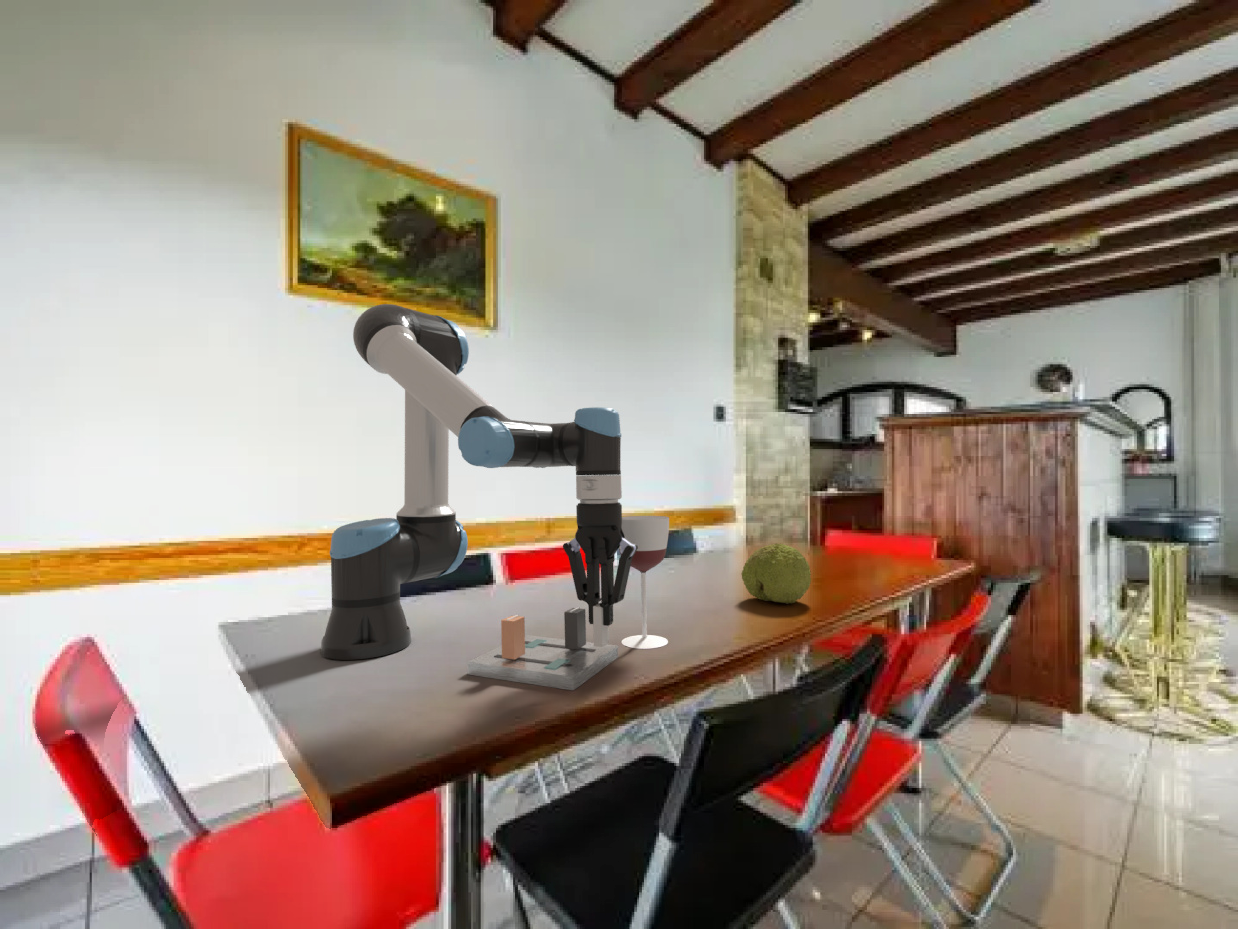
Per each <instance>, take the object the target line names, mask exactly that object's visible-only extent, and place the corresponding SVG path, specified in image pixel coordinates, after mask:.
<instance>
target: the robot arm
mask: <svg viewBox="0 0 1238 929" xmlns="http://www.w3.org/2000/svg"><path fill="white" fill-rule="evenodd" d="M352 332H353V333H352V335H353V343H354V344H353V345H354V347H355V349H356V352H357V353H358V354H359V356H360V357H361V358H362V360H363V361H364V362H365V363H366V364H367V365H369V367H370V368H372V369H373V371H376V372H378V373H380V374H384V375H388V376H389V377H390V378H391V379H392V380H394V381H395V382H396V383H397V384H398V385H399V386H401V388H403V390H404V503H403V504H404V505H403V506H402V507H401V508H400V509H399V510H398V511H397V512H396V518H393V517H382V518H374V519H365V520H359V521H355V522H350V523H346V524H344V525H341V526H339V527H337V528H336V529H335V530H334V531H333V532H332V535H331V540H330V549H329V556H330V570H331V572H330V576H331V585H330V586H331V612H330V614H329V617H328V620H327V625H326V628H325V632H324V636H323V637H322V638H321V650H320V651H321V655H322V657H324V658H327V659H331V660H339V661H353V660H354V661H355V660H365V659H371V658H378V657H382V656H387V655H390V654H393V653H397V652H399V651H401V650H404V649H406V648H407V647H409V646H410V645H411V642H412V640H411V639H412V638H411V629H410V627H409V625H408V624H407V619H406V616H405V613H404V610H403V606H402V604H401V584H407V583H411V582H417V581H420V580H427V579H437V578H440V577H442V576H444V575H448V574H450V573H452V572H455V571H456V570H457V569H458V567H459V566H461V564H462V563H463V561H464V560H465V557H466V555H467V552H468V551H467V550H468V543H469V542H468V541H469V540H468V535H467V531H466V530H464V526H463V524H462V523H461V522H460V521H458V520H457V516H456V515H457V514H456V511H455V510H454V509H453V508H452V506H450V505H449V504H450V503H449V449H450V448H449V446H450V445H449V438H450V437H449V436H450V435H449V434H450V433H449V431H451V432H452V433H453V435H455V436H456V437H457V444H458V445H457V446H458V449H459V451H460V452H461V457H462V458H463V460H465V462H467V463H468V464H470V465H472V466H474V467H482V468H487V469H495V468H516V467H517V468H518V467H519V468H521V467H522V468H524V467H525V468H534V469H535V468H538V469H539V468H542V469H545V468H553V467H554V468H557V467H558V468H559V467H575V480H576V481H575V484H576V487H575V490H576V491H575V492H576V494H575V495H576V499H577V500H578V501H579V503H577V504H576V511H575V512H576V525H577V529H576V531H575V535H574V538H572V540H570V541H568V542H565V543H563V544H562V549H563V550H564V553H565V554H566V555H567V557H568V561H569V566H570V570H571V574H572V579H573V580H572V581H573V583H574V584H573V585H574V590H575V592H576V597H577V600H579V601H582V602H585V603H586V604H587V606H588V607H587V608H588V622H589V625H592V626H593V629H592V630H593V632H592V633H593V643H594V646H596V647H603V646H604V645H606V644H609V643H610V639H609V638H610V636H609V634H610V630H609V629H610V628H609V627H610V626H611V625H612V624H613V622H614V605H615V604H618V603H620V602H621V601H624V598H625V594H626V589H627V584H628V579H629V576H630V575H629V574H630V570H631V561H632V557H633V556H634V554H635V552H636V551H637V549H638V546H637V545H636V544H631V543H630V542H628V541H627V540H626V539H624V538H625V536H624V533H623V531H622V517H623V511H622V509H623V508H622V507H623V506H622V503H621V502H619V500H620V499H622V498H623V497H622V496H623V495H622V492H623V491H622V470H621V442H622V440H621V439H622V433H621V424H620V422H621V420H620V414H619V411H617V410H616V409H614V408H611V407H599V406H597V407H593V406H592V407H584V408H579V409H577V410H575V413H574V419H573V421H571V422H560V423H544V422H536V421H535V422H534V421H526V420H525V421H524V420H515V419H513V420H512V419H510V418H509V417H507V416H506V415H504V414H503V413H502V412H500V411H499V410H498V409H496V408H495V407H494V406H493V405H492V404H490V402H489V401H487V400H486V399H485V398H484V397H483V396H481V395H480V394H479V393H477V392H476V391H475V390H474V389H473V388H471V387H470V386H468V384H467V383H465V382H464V381H463V380H462V379H461V378H460V377H458V375H459V374H460V373H462V371H464V369H465V365H466V364H467V363H468V360H469V355H470V354H469V353H470V350H469V349H470V348H469V343H468V340H467V336H466V334H465V332H464V331H463V330H462V328H460V327H459V325H458V324H457V323H456V322H454V321H452V320H448V319H447V318H444V317H442V316H439V315H433V314H430V313H429V314H428V313H425V312H421V311H419V310H414V309H411V308H407V307H403V306H401V305H396V304H391V303H389V304H388V303H383V304H378V305H374V306H371V307H370V308H368V309H366V310H365V311H364V312H363V313H361V314H360V316H359V317H358V318H357V320H356V321H355V324H354V327H353V331H352ZM620 546H621V549H620V550H619V547H620ZM581 550H582V551H583V552H584V561H583V557H582V556H583V555H582V553H581ZM618 550H619V553H620V552H621V553H622V554H620V556H619V561H618V563H617V564H618V566H617V570H616V575H615V576H614V563H615V559H616V558H615V555H616V553H617V551H618ZM584 562H585V565H586V567H585V565H584ZM585 568H586V569H585Z"/></svg>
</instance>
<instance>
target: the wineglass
mask: <svg viewBox="0 0 1238 929" xmlns="http://www.w3.org/2000/svg"><path fill="white" fill-rule="evenodd" d="M669 530H670V517H669V516H664V515H627V516H626V515H625V516H622V531H623V533H624V536H625V538H624V539H626V540H627V541H628V542H630V543H631V544H636V545H637V546H638V549H637V551H636V552H635V554H634V556H633V557H632V561H631V566H630V568H632V569H635V570H637V571H638V572H640V586H641V587H640V588H641V595H640V596H641V634H637V635H631V636H628V637H624V638H623V639H622V640H621V644H622V645H623V646H625V647H629V648H632V649H640V650H643V649H645V650H646V649H647V650H648V649H657V648H660V647H661V648H662V647H664V646H666V645H667V644H669V641H668V639H667V638H665V637H662V636H660V635H655V634H654V635H653V634H652V635H651V634H648V625H647V624H648V620H647V619H648V618H647V580H646V579H647V576H646V573H647V572H648V571H649V570H651V569H653V568H655V567H656V566H658V565H659V564H660V563H661V562H662V561H663V560H664V559H665V556H666V555H667V554H666V552H667V547H668V541H669V534H670V533H669V532H670V531H669ZM620 549H621V546H620V547H619V548H618V550H619V555H621V554H622V553H621V552H620Z"/></svg>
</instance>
